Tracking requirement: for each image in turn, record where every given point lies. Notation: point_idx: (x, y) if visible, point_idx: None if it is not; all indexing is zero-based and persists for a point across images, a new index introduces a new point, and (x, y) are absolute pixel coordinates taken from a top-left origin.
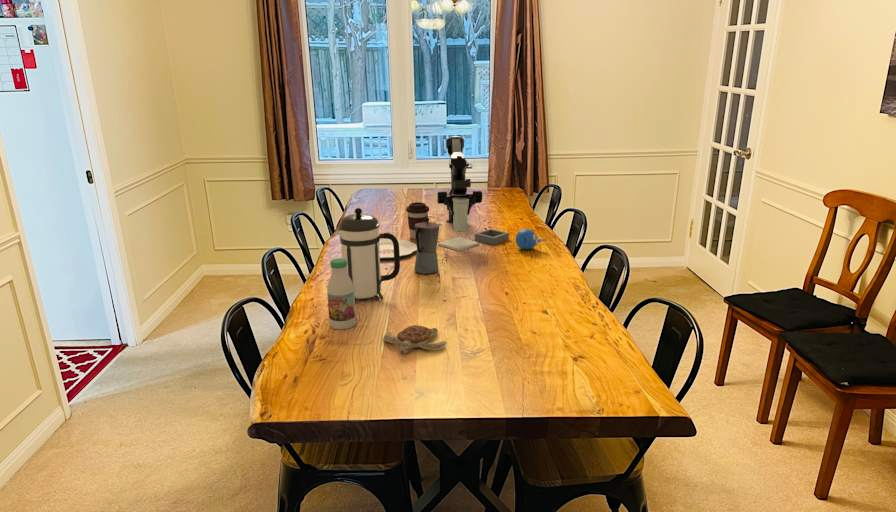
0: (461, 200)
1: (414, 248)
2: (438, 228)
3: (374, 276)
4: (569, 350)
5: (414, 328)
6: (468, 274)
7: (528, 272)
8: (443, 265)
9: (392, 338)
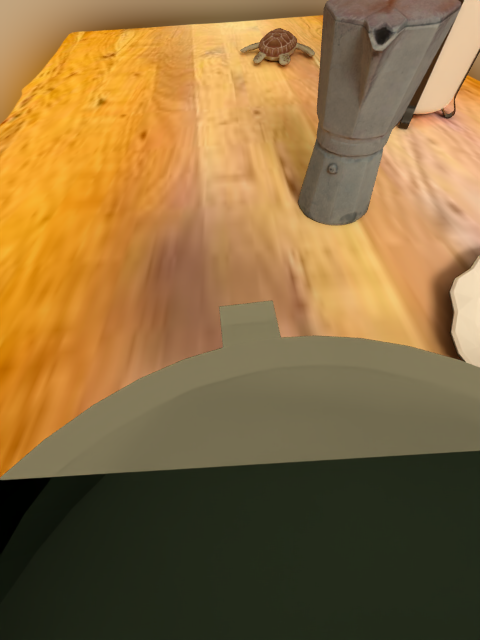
0: (255, 403)
1: (476, 359)
2: (325, 11)
3: None
4: (111, 61)
5: (277, 29)
6: (214, 194)
7: (52, 213)
8: (292, 239)
9: (301, 44)
